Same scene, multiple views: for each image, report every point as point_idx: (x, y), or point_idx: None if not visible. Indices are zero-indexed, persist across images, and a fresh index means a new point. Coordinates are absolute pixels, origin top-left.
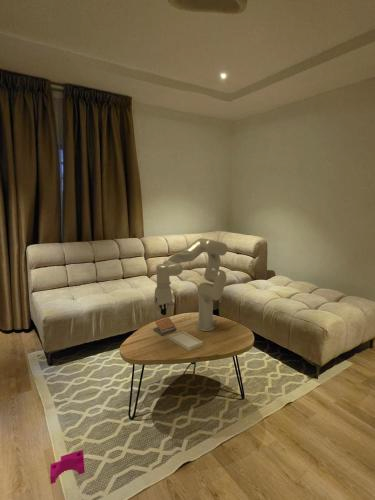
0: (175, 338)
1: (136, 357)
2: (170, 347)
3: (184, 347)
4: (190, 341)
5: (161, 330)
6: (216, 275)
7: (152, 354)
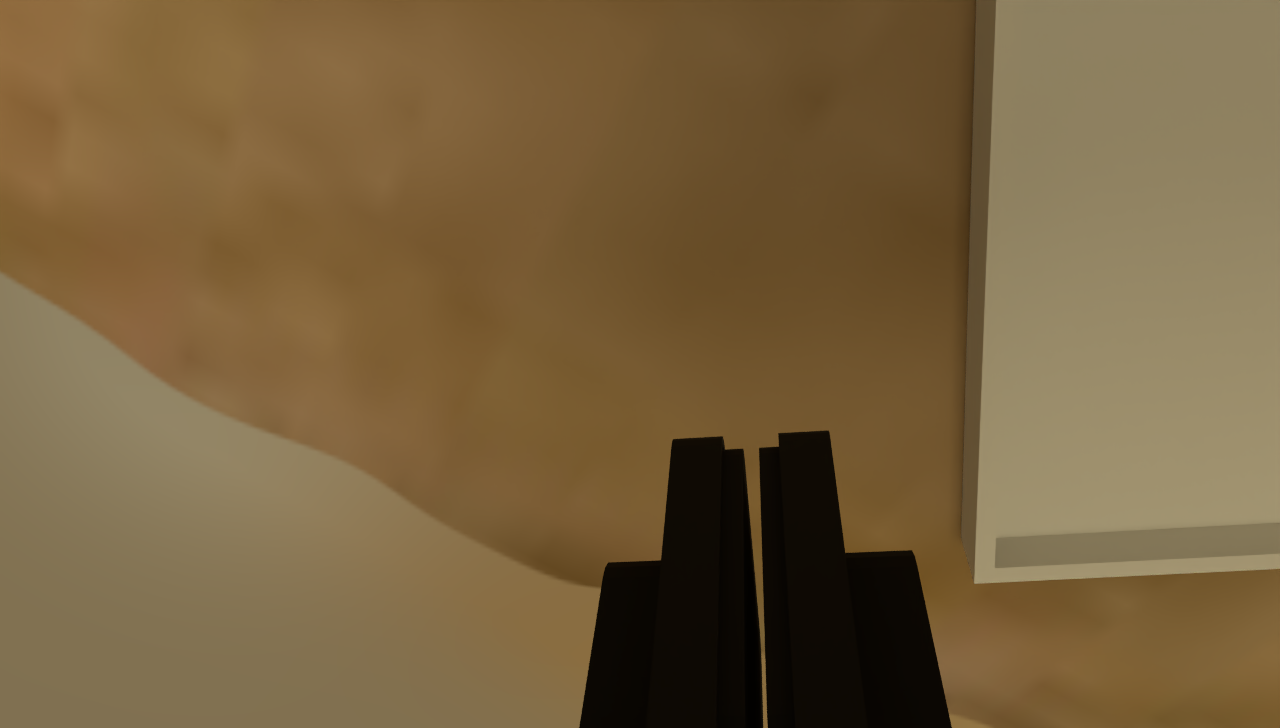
0: (1092, 56)
1: (53, 265)
2: (769, 286)
3: (967, 463)
4: (1241, 353)
5: None
6: None
7: (352, 324)
